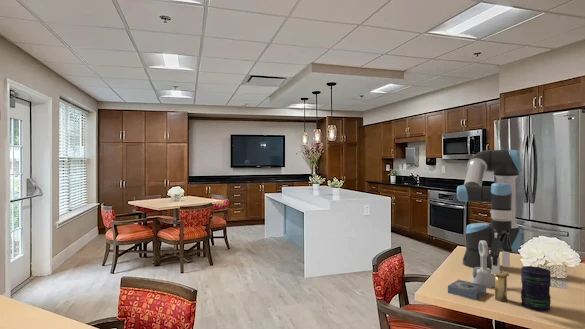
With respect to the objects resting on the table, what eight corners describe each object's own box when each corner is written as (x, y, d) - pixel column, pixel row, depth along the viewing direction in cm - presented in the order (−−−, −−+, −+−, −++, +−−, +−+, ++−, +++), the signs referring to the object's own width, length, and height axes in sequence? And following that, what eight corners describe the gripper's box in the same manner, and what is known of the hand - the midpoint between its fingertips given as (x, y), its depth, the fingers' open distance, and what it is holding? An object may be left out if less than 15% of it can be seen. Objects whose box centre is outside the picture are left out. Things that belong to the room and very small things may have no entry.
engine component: (475, 286, 166) (499, 288, 164) (475, 243, 166) (499, 244, 164) (469, 279, 177) (491, 280, 175) (469, 238, 177) (491, 238, 175)
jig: (458, 285, 167) (458, 279, 167) (486, 292, 159) (486, 286, 159) (447, 292, 159) (447, 285, 159) (476, 300, 150) (476, 293, 150)
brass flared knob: (495, 295, 155) (495, 268, 155) (511, 299, 151) (511, 271, 150) (490, 299, 151) (490, 271, 151) (506, 303, 147) (506, 274, 146)
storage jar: (543, 302, 147) (544, 267, 147) (555, 312, 138) (555, 274, 137) (517, 300, 149) (517, 265, 149) (526, 310, 140) (526, 272, 140)
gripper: (500, 215, 162) (500, 262, 162) (481, 221, 144) (480, 274, 144) (519, 217, 156) (519, 265, 156) (501, 224, 139) (501, 278, 139)
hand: (500, 269), depth 150 cm, fingers open, 13 cm apart
